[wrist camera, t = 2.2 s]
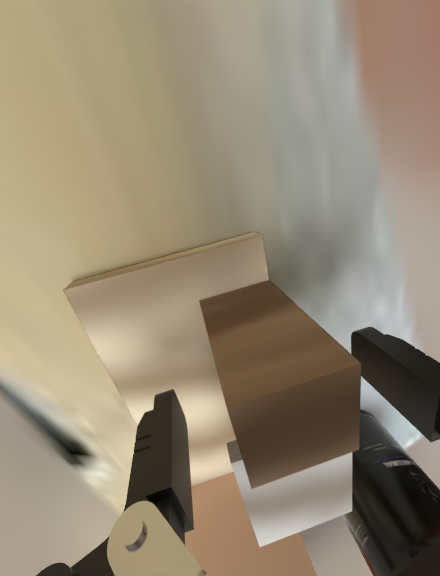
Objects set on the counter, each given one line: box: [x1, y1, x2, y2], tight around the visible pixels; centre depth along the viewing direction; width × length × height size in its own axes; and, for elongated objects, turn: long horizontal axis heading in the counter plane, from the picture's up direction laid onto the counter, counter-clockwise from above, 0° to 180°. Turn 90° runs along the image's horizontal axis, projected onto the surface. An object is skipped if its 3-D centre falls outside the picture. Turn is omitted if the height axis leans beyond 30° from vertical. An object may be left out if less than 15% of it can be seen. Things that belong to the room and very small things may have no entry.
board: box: [63, 232, 269, 487], centre depth 18 cm, size 26×10×1 cm, turn 13°
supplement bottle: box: [342, 413, 440, 576], centre depth 17 cm, size 7×7×12 cm
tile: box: [185, 472, 317, 576], centre depth 16 cm, size 2×8×8 cm, turn 103°
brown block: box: [199, 280, 361, 547], centre depth 12 cm, size 11×5×7 cm, turn 13°
